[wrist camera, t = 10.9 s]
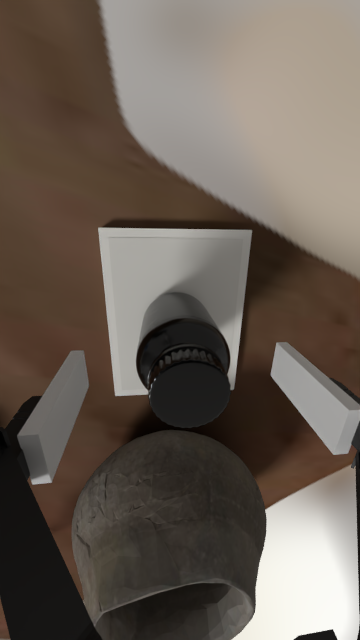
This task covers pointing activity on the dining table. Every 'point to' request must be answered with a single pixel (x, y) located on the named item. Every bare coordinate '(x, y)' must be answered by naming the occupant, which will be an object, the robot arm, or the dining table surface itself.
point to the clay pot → (169, 540)
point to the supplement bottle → (183, 361)
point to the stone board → (170, 286)
